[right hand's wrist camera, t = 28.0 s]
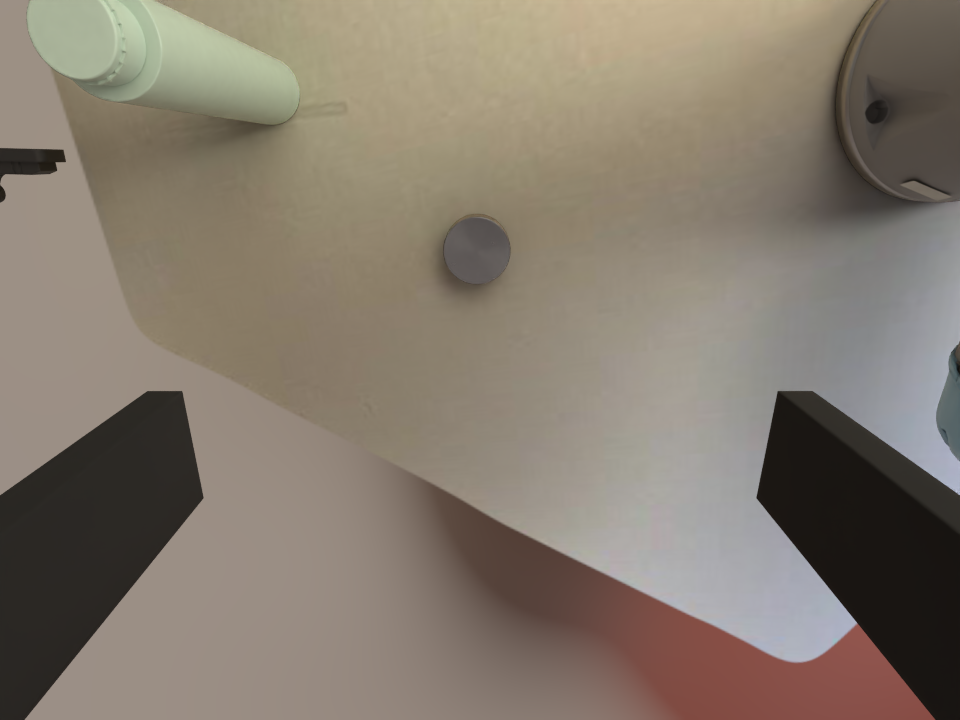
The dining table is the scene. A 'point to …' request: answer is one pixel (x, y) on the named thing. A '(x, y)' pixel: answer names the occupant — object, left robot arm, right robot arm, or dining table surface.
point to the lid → (476, 249)
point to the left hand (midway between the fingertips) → (37, 73)
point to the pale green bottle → (160, 60)
